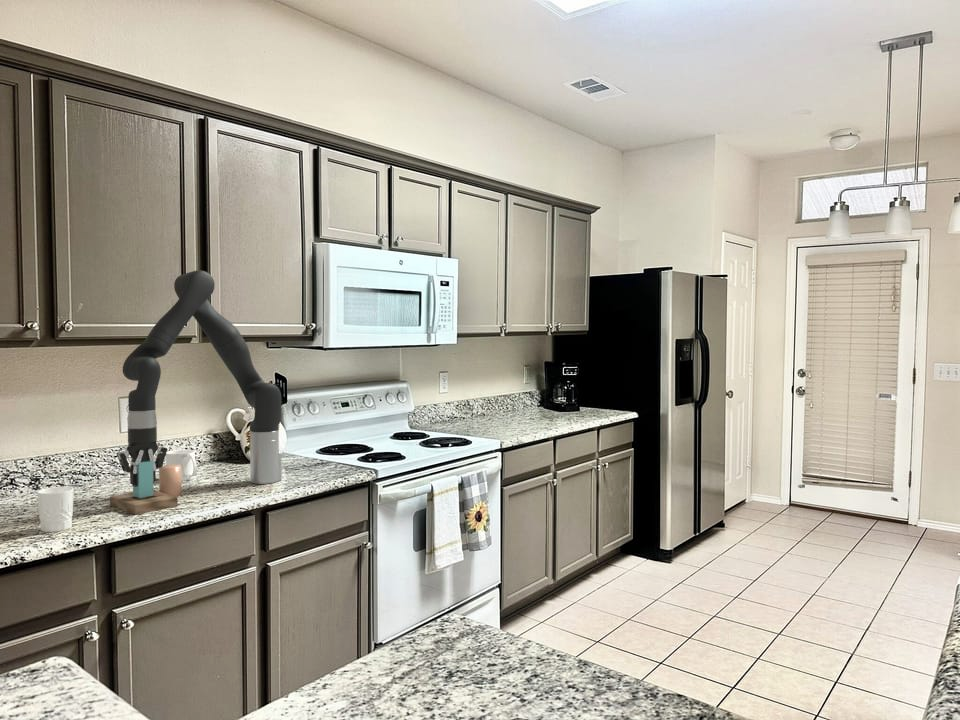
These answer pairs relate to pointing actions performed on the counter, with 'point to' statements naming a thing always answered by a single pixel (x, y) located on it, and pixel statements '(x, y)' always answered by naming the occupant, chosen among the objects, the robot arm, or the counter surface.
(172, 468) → the round peg
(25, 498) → the counter surface
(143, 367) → the robot arm
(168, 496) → the board
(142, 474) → the square peg
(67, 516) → the white cup
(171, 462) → the mug
